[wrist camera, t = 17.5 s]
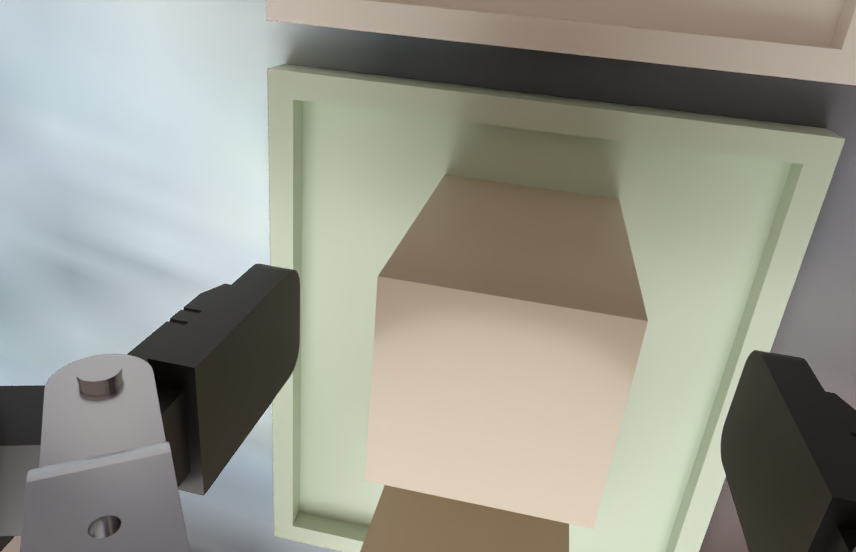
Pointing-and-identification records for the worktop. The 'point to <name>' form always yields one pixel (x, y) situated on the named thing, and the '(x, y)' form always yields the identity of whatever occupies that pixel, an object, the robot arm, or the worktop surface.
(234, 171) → the worktop surface
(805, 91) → the worktop surface
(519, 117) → the bin
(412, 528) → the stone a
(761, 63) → the bin
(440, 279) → the beige block
